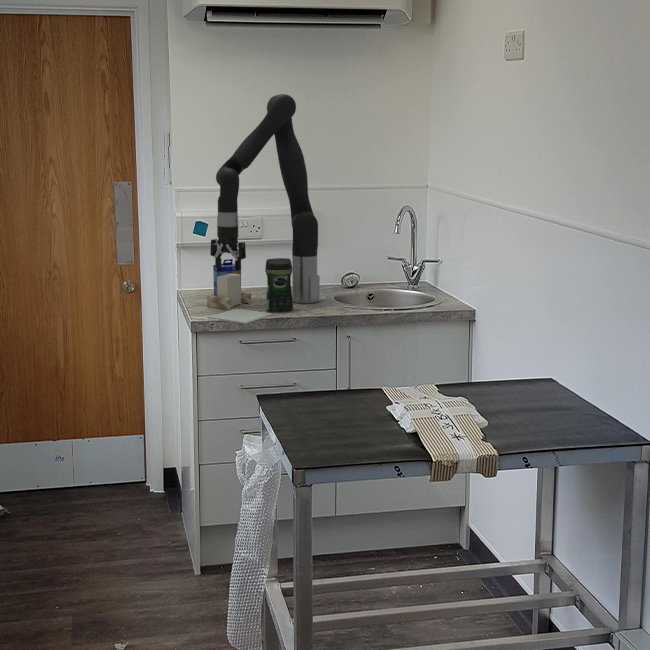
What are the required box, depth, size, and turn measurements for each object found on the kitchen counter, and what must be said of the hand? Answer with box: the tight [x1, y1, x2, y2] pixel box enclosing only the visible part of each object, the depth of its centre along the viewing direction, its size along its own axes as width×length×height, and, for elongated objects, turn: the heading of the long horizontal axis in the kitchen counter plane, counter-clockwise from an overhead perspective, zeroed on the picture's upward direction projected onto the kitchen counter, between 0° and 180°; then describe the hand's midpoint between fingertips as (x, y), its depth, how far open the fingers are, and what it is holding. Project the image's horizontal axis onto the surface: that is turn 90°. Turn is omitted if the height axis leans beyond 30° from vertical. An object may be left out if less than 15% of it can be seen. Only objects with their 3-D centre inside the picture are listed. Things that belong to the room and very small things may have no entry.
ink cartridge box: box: [212, 258, 242, 297], centre depth 359 cm, size 10×6×14 cm, turn 115°
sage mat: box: [207, 308, 274, 325], centre depth 326 cm, size 16×16×1 cm
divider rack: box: [206, 291, 252, 311], centre depth 344 cm, size 10×13×4 cm
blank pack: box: [217, 274, 242, 308], centre depth 343 cm, size 4×8×11 cm, turn 148°
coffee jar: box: [264, 257, 294, 313], centre depth 334 cm, size 10×8×19 cm
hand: (228, 269), depth 341 cm, fingers open, 8 cm apart
